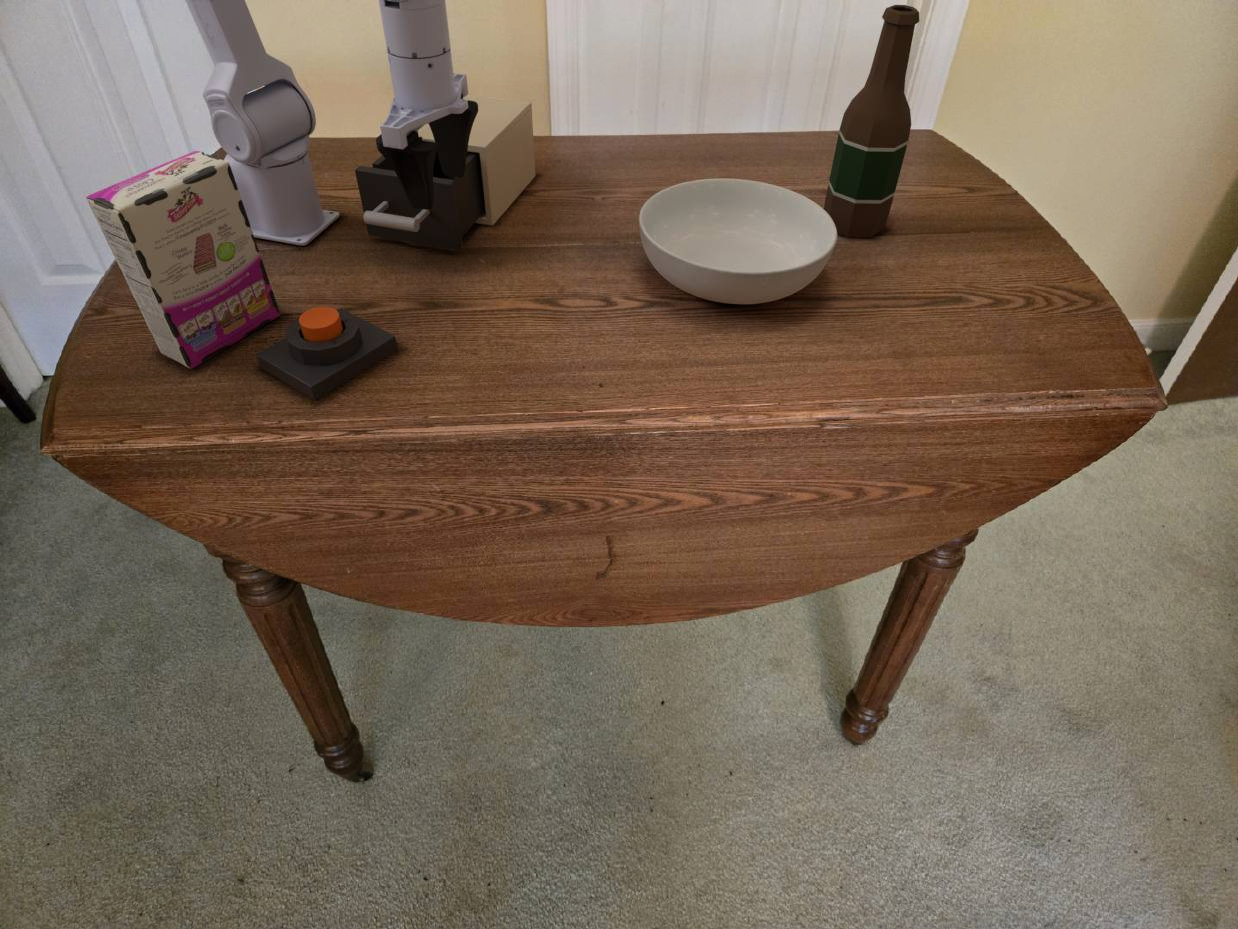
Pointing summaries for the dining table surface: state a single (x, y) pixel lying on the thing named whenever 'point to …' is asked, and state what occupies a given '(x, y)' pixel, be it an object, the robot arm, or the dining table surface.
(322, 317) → the button
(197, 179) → the candy bar box
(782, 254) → the serving bowl
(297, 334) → the control block
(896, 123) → the beer bottle
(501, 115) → the cabinet
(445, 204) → the drawer
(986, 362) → the dining table surface
